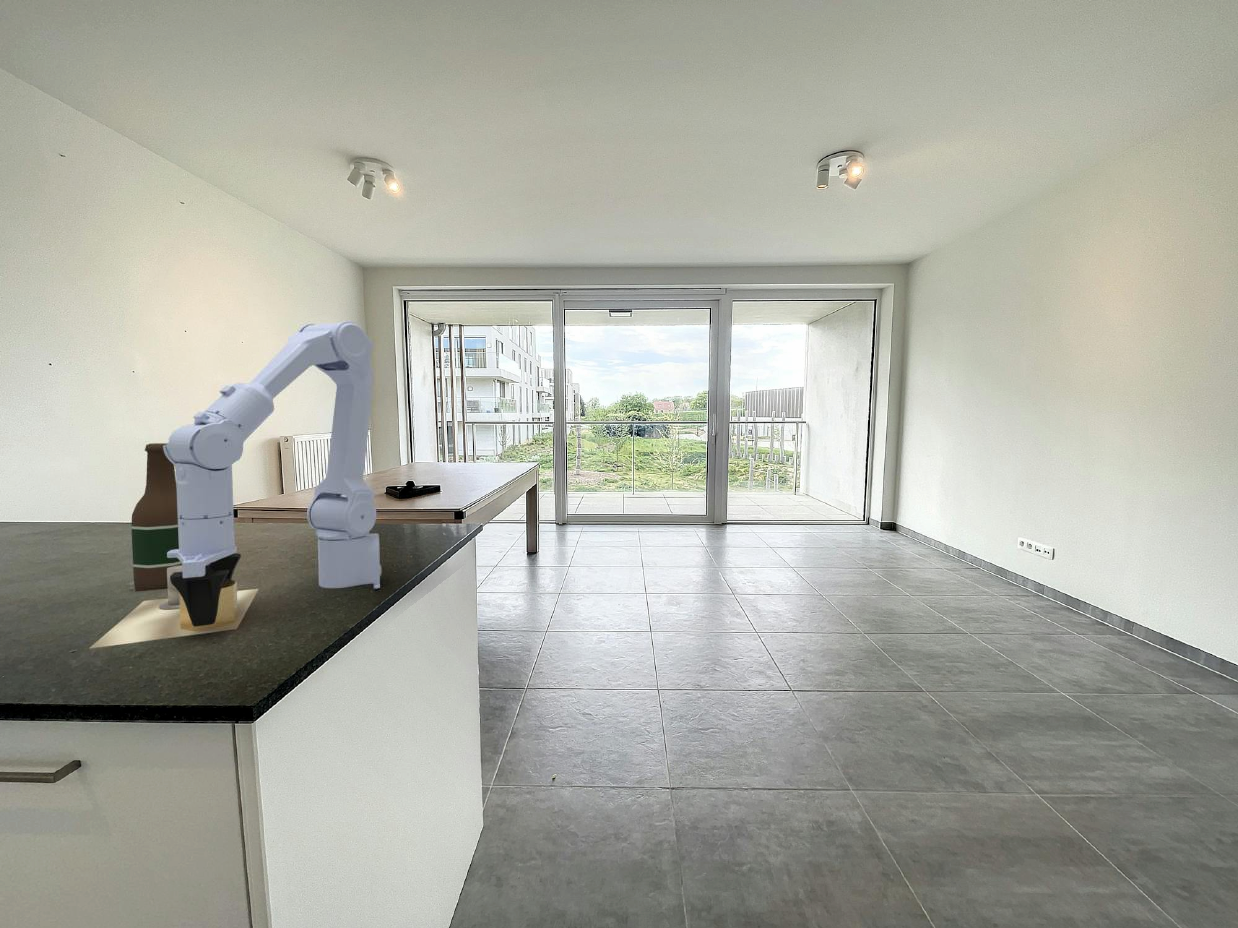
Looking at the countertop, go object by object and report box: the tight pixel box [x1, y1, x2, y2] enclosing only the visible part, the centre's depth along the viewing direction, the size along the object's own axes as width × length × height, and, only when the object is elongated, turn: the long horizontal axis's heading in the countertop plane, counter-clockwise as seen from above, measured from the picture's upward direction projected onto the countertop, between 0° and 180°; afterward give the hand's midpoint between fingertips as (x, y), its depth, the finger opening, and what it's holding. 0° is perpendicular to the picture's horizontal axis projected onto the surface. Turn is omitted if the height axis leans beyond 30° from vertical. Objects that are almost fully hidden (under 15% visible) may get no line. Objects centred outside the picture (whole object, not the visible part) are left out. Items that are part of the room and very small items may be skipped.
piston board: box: [88, 565, 260, 650], centre depth 70 cm, size 14×18×6 cm
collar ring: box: [179, 579, 238, 631], centre depth 68 cm, size 6×6×5 cm
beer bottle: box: [130, 442, 182, 592], centre depth 83 cm, size 8×8×24 cm
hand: (210, 616), depth 68 cm, fingers closed on collar ring, 6 cm apart
